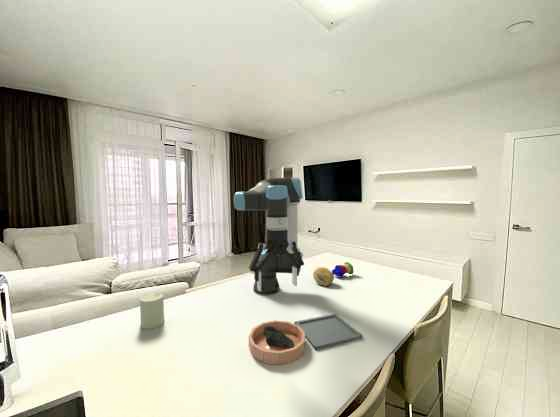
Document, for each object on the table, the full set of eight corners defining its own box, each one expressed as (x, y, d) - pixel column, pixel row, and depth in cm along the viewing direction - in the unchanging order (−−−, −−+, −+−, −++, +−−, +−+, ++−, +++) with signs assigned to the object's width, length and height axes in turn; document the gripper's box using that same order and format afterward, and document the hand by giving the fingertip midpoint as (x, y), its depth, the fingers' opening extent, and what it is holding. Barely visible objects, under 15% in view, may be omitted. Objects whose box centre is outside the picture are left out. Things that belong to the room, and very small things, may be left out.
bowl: (244, 336, 95) (244, 326, 94) (291, 326, 102) (291, 317, 101) (257, 371, 76) (257, 358, 76) (314, 356, 83) (314, 344, 83)
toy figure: (340, 283, 159) (357, 275, 165) (339, 269, 157) (356, 262, 163) (331, 277, 167) (347, 270, 173) (330, 264, 165) (346, 258, 171)
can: (169, 319, 108) (168, 293, 107) (152, 330, 99) (151, 301, 98) (153, 316, 111) (152, 290, 110) (135, 326, 102) (134, 298, 101)
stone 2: (336, 284, 149) (336, 268, 149) (324, 288, 143) (325, 271, 143) (321, 279, 159) (321, 264, 159) (310, 282, 153) (310, 266, 153)
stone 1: (288, 356, 82) (288, 341, 82) (258, 342, 90) (258, 328, 89) (298, 346, 87) (299, 332, 87) (269, 333, 95) (270, 320, 95)
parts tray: (294, 324, 103) (294, 321, 103) (335, 316, 110) (335, 313, 110) (315, 350, 86) (315, 346, 86) (362, 338, 93) (362, 335, 93)
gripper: (244, 232, 79) (245, 296, 80) (313, 228, 87) (312, 286, 89) (240, 229, 86) (241, 288, 87) (304, 225, 94) (303, 279, 96)
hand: (277, 287), depth 88 cm, fingers open, 13 cm apart
